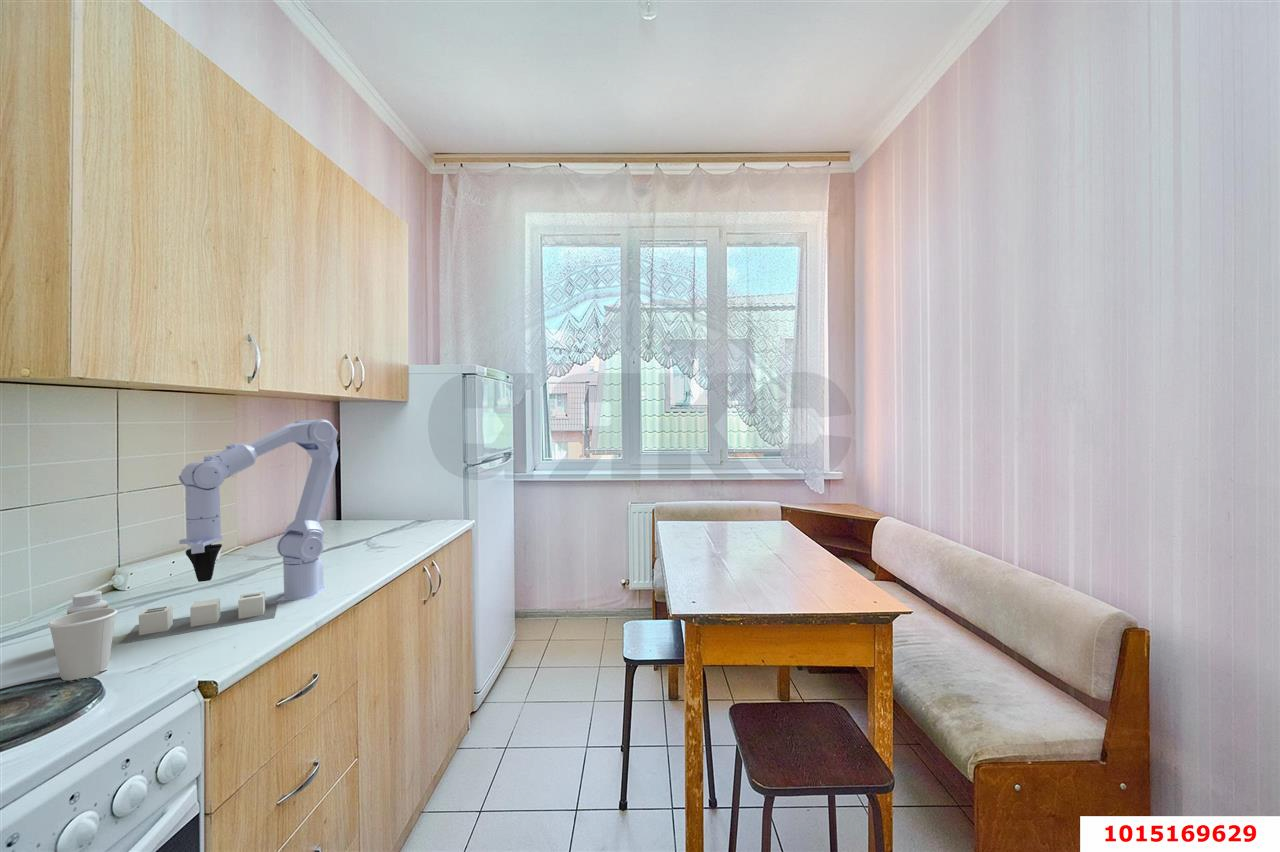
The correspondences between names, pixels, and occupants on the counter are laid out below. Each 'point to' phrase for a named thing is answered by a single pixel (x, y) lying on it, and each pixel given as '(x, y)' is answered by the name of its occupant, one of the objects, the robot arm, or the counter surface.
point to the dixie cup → (83, 642)
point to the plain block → (205, 612)
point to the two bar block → (155, 620)
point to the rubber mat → (185, 625)
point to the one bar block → (251, 605)
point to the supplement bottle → (87, 602)
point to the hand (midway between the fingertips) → (205, 580)
